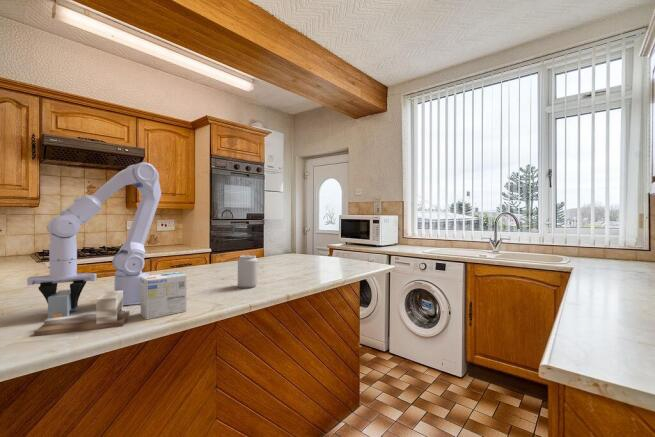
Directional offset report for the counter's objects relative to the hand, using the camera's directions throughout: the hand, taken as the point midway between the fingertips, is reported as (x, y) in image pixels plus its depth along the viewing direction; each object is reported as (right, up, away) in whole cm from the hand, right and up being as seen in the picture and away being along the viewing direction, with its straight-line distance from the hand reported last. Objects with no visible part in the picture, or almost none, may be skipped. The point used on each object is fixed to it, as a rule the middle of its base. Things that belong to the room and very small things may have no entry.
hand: (63, 308), depth 84 cm
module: (0, -2, 0) cm, 2 cm away
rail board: (+12, -2, -7) cm, 14 cm away
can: (+42, -2, +35) cm, 54 cm away
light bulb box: (+26, -2, +3) cm, 26 cm away
